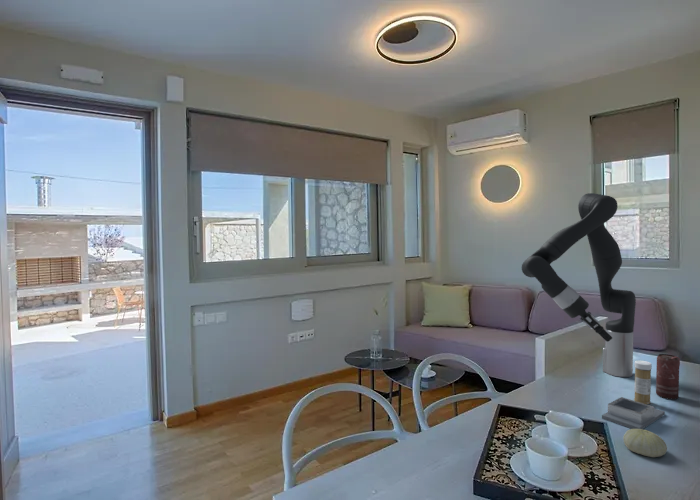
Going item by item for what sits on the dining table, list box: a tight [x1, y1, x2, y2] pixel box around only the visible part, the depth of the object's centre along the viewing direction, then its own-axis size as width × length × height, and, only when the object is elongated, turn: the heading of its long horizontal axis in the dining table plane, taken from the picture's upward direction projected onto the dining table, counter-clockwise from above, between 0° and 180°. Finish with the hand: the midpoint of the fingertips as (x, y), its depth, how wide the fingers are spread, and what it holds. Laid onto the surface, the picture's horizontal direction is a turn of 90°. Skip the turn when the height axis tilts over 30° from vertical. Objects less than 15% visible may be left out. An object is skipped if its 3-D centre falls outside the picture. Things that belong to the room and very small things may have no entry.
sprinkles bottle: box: [633, 360, 652, 405], centre depth 138 cm, size 5×5×13 cm
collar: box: [607, 396, 655, 425], centre depth 126 cm, size 9×9×3 cm
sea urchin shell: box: [622, 428, 668, 458], centre depth 109 cm, size 9×8×8 cm
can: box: [655, 353, 681, 401], centre depth 142 cm, size 6×6×14 cm
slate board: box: [601, 407, 666, 430], centre depth 128 cm, size 10×18×1 cm, turn 124°
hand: (607, 336), depth 141 cm, fingers open, 8 cm apart
